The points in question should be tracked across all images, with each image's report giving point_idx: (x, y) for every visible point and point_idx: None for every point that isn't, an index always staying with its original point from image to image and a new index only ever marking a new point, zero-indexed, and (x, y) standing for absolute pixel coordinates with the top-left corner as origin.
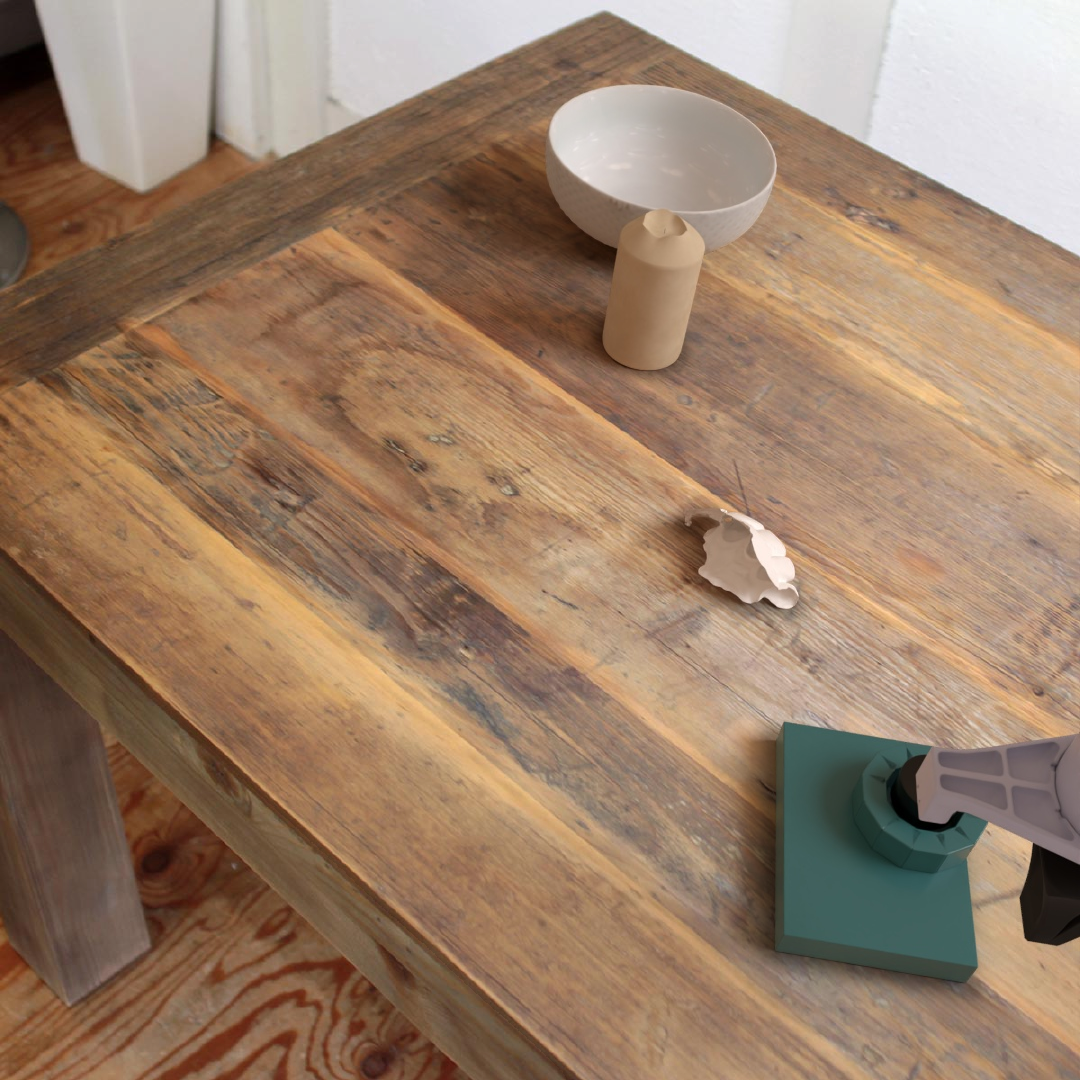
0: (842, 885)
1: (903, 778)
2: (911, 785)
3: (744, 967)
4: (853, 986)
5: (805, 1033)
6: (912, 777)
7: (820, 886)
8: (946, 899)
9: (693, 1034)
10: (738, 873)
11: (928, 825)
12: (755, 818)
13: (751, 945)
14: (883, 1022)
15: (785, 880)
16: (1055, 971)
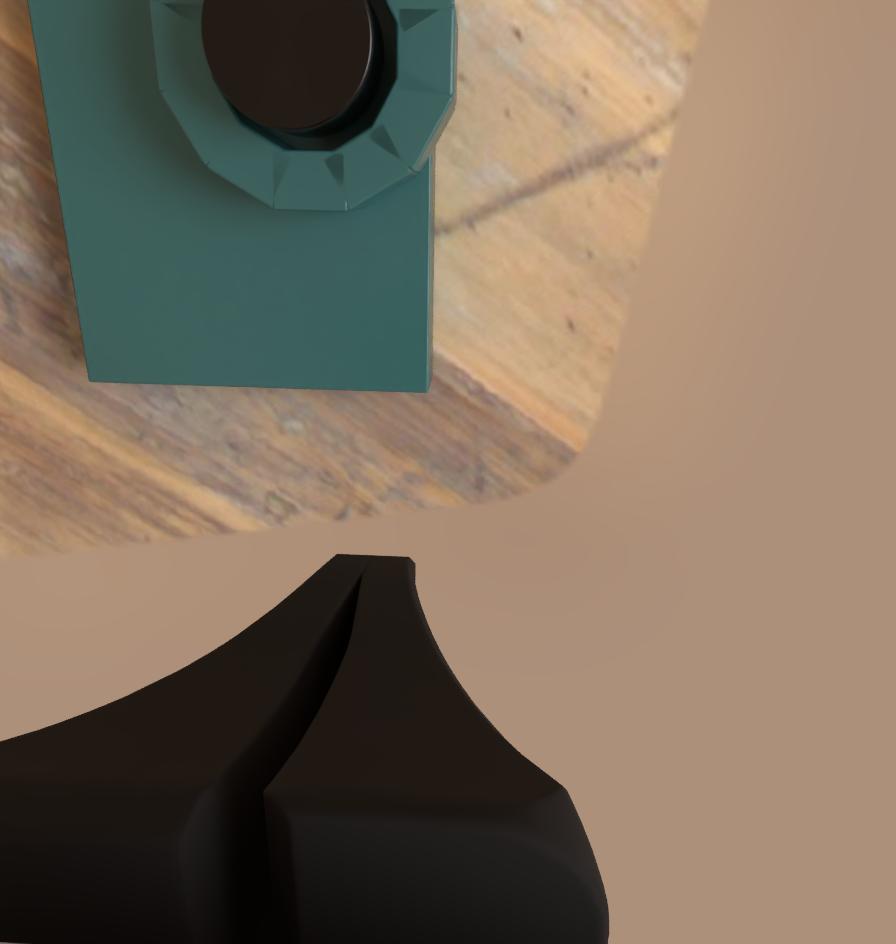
0: (181, 266)
1: (207, 38)
2: (229, 58)
3: (77, 400)
4: (249, 407)
5: (182, 487)
6: (230, 29)
7: (139, 276)
8: (380, 264)
9: (26, 508)
10: (33, 227)
11: (308, 136)
12: (40, 92)
13: (81, 362)
14: (296, 457)
15: (73, 275)
16: (593, 332)
